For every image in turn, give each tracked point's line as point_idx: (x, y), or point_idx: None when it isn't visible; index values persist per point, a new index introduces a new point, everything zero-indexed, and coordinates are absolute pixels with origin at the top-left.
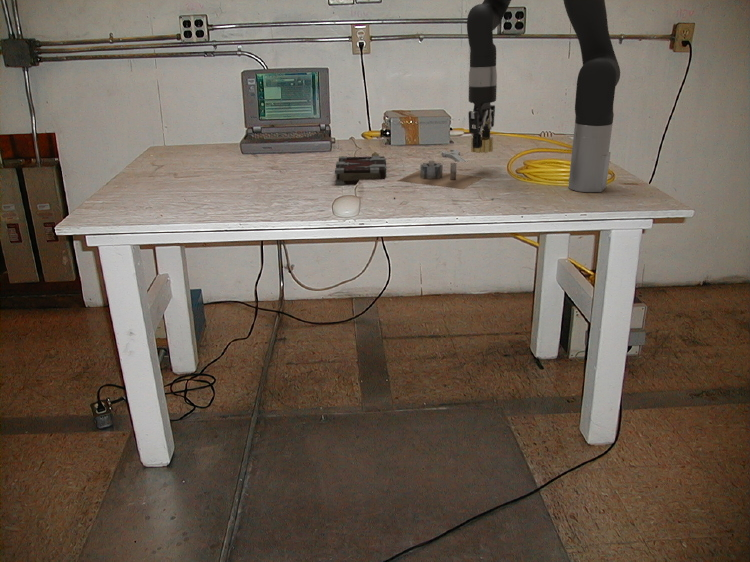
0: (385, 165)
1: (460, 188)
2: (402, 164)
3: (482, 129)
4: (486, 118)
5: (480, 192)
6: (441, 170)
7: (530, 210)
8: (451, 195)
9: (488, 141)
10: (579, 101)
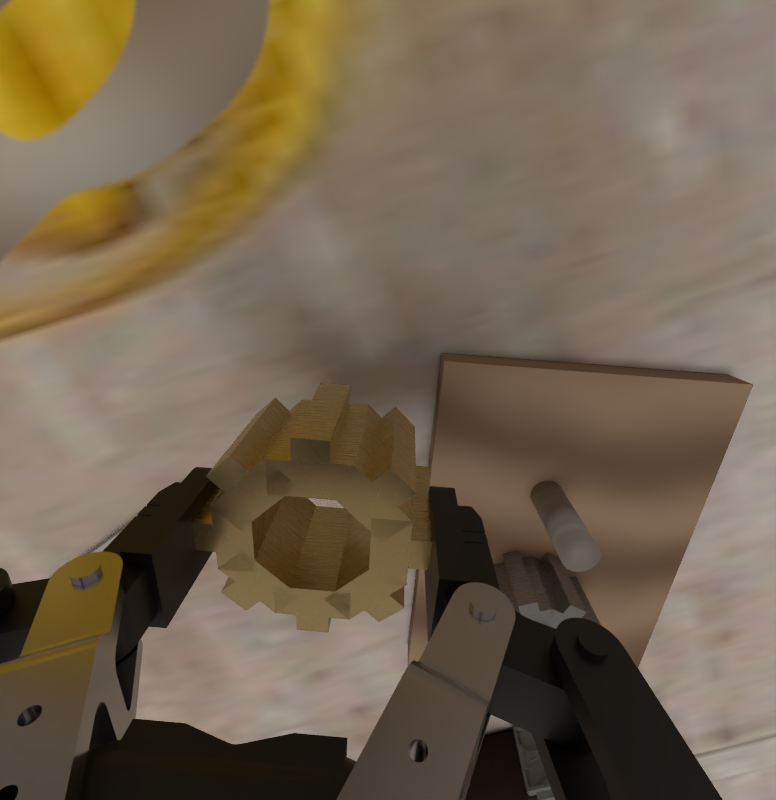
0: (534, 791)
1: (742, 403)
2: (263, 738)
3: (140, 638)
4: (163, 796)
5: (666, 301)
6: (528, 581)
7: None
8: (751, 424)
9: (362, 459)
10: None
